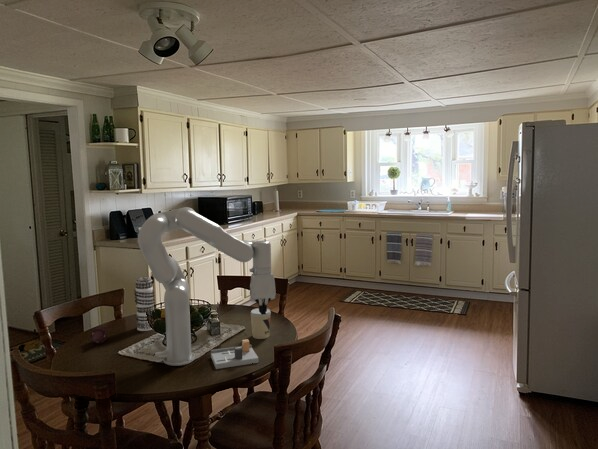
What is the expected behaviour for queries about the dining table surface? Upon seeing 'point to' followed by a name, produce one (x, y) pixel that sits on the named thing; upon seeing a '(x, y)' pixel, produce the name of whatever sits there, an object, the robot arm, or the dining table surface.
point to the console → (232, 357)
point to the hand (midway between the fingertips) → (262, 313)
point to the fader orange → (245, 345)
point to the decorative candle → (143, 302)
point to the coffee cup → (260, 324)
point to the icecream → (99, 335)
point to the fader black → (238, 352)
